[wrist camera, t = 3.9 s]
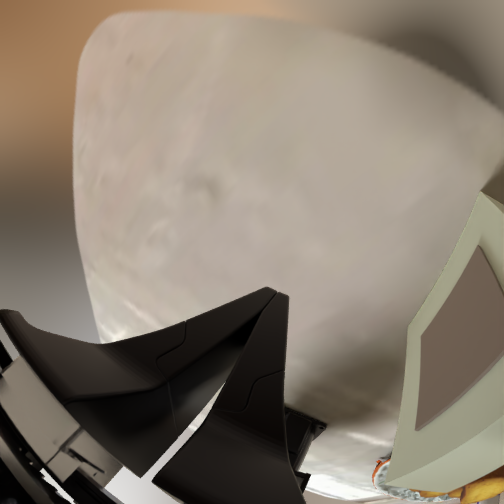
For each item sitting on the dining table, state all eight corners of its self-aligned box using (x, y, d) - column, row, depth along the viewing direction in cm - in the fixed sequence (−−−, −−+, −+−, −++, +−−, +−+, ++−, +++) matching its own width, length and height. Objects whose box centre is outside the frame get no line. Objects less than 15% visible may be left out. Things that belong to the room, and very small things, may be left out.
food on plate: (342, 461, 29) (326, 500, 24) (504, 379, 14) (510, 443, 9) (441, 493, 25) (434, 523, 19) (563, 432, 10) (565, 470, 5)
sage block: (451, 344, 15) (446, 492, 6) (405, 325, 16) (380, 483, 8) (527, 220, 10) (621, 358, 1) (477, 189, 11) (582, 324, 2)
